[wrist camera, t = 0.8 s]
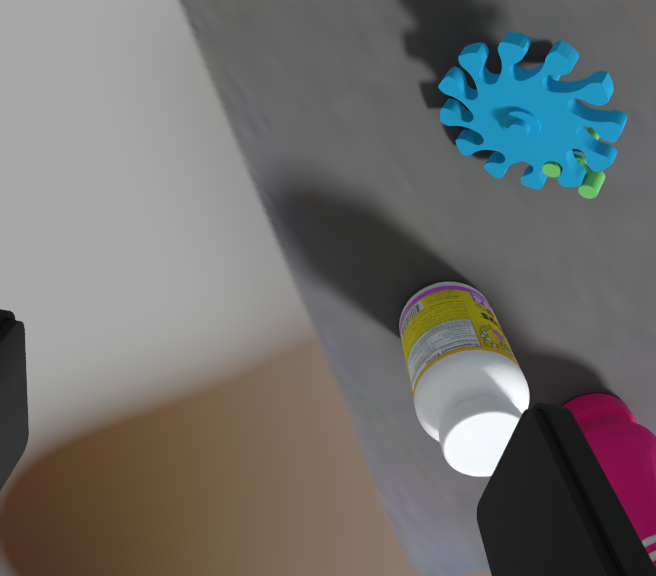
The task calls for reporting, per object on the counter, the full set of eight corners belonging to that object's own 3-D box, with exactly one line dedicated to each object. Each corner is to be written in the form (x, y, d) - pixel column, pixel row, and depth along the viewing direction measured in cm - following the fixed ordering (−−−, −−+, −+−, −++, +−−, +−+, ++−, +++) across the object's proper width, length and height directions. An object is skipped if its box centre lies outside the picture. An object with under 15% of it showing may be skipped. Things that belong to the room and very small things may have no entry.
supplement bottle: (498, 342, 44) (558, 475, 32) (410, 365, 45) (439, 502, 33) (480, 265, 41) (540, 383, 29) (387, 291, 42) (410, 416, 30)
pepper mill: (524, 425, 48) (640, 697, 30) (599, 371, 45) (773, 634, 28) (579, 468, 50) (716, 743, 33) (653, 419, 47) (845, 689, 30)
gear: (399, 95, 34) (538, 14, 25) (444, 30, 36) (588, -65, 27) (513, 222, 38) (668, 189, 29) (548, 157, 40) (703, 108, 31)
